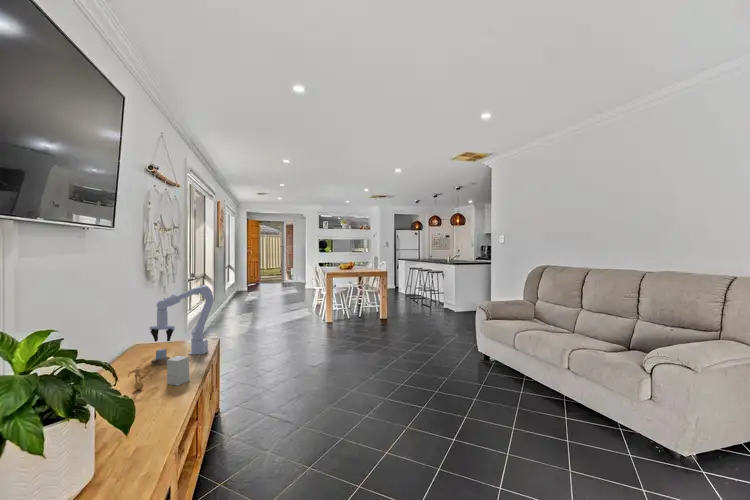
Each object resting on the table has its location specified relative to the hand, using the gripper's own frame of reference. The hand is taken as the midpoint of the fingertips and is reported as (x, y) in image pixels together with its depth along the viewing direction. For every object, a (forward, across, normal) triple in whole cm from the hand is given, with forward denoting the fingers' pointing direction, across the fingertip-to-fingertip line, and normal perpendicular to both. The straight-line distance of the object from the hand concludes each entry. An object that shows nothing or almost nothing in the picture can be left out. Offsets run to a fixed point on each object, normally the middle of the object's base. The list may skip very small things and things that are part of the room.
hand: (162, 341), depth 223 cm
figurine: (+11, +16, -51) cm, 54 cm away
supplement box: (+11, +31, -41) cm, 52 cm away
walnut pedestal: (+11, +5, -10) cm, 16 cm away
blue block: (+8, +5, -10) cm, 13 cm away
